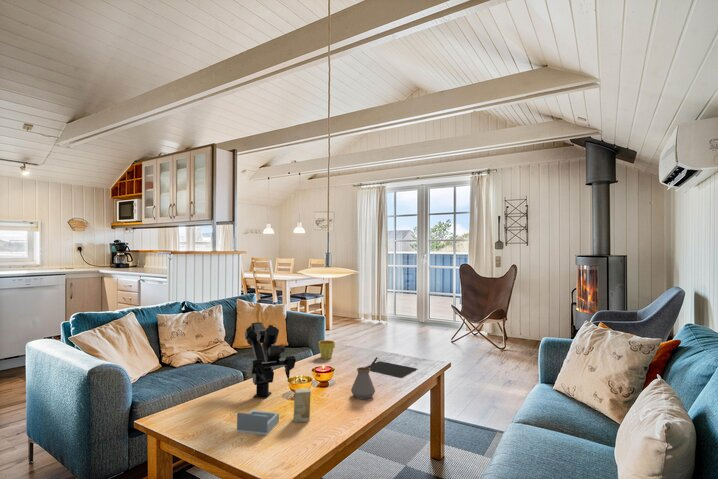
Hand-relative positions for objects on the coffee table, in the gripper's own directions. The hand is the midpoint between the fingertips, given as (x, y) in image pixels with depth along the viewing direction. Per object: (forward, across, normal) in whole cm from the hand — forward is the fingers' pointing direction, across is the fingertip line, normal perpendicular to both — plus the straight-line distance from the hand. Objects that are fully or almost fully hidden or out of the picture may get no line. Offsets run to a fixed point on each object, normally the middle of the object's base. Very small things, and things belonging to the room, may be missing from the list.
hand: (277, 379), depth 167 cm
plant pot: (-53, +52, +52) cm, 91 cm away
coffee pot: (+2, +47, +17) cm, 50 cm away
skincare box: (+15, +8, +9) cm, 19 cm away
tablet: (-21, +76, +32) cm, 86 cm away
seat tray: (+13, -9, +9) cm, 19 cm away
